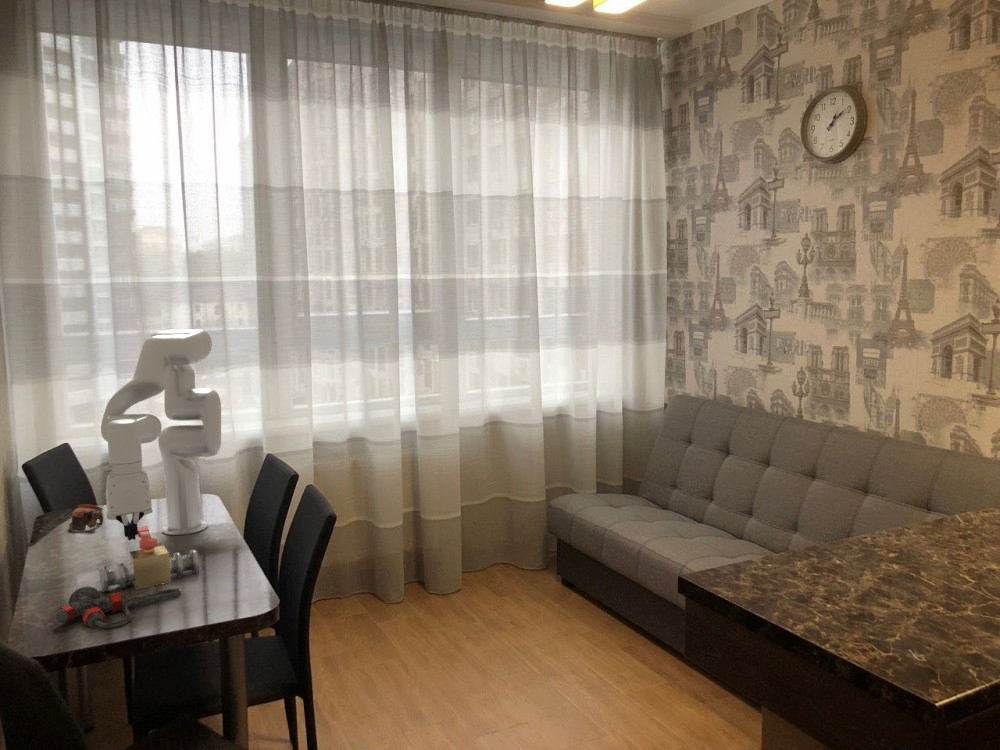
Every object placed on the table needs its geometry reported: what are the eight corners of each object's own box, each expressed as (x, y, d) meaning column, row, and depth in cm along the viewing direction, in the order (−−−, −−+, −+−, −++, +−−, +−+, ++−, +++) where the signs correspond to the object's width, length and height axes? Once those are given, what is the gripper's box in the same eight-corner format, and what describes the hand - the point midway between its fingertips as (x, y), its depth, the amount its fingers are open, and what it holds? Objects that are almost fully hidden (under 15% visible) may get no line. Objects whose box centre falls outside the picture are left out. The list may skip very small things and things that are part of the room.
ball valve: (100, 587, 193) (97, 552, 192) (194, 568, 205) (192, 535, 204) (103, 596, 188) (100, 560, 187) (200, 576, 199) (198, 542, 198)
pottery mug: (60, 531, 241) (67, 505, 244) (90, 537, 248) (97, 512, 251) (81, 527, 235) (88, 500, 238) (111, 534, 241) (117, 507, 245)
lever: (133, 533, 206) (133, 527, 206) (150, 531, 208) (150, 525, 208) (140, 550, 193) (140, 544, 192) (158, 547, 195) (158, 541, 194)
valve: (65, 651, 164) (50, 618, 175) (192, 622, 180) (172, 593, 192) (65, 623, 163) (50, 592, 174) (193, 596, 179) (173, 569, 190)
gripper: (94, 475, 193) (100, 548, 195) (160, 467, 201) (165, 537, 203) (91, 469, 200) (97, 540, 202) (155, 461, 207) (160, 529, 210)
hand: (131, 538), depth 202 cm, fingers closed
